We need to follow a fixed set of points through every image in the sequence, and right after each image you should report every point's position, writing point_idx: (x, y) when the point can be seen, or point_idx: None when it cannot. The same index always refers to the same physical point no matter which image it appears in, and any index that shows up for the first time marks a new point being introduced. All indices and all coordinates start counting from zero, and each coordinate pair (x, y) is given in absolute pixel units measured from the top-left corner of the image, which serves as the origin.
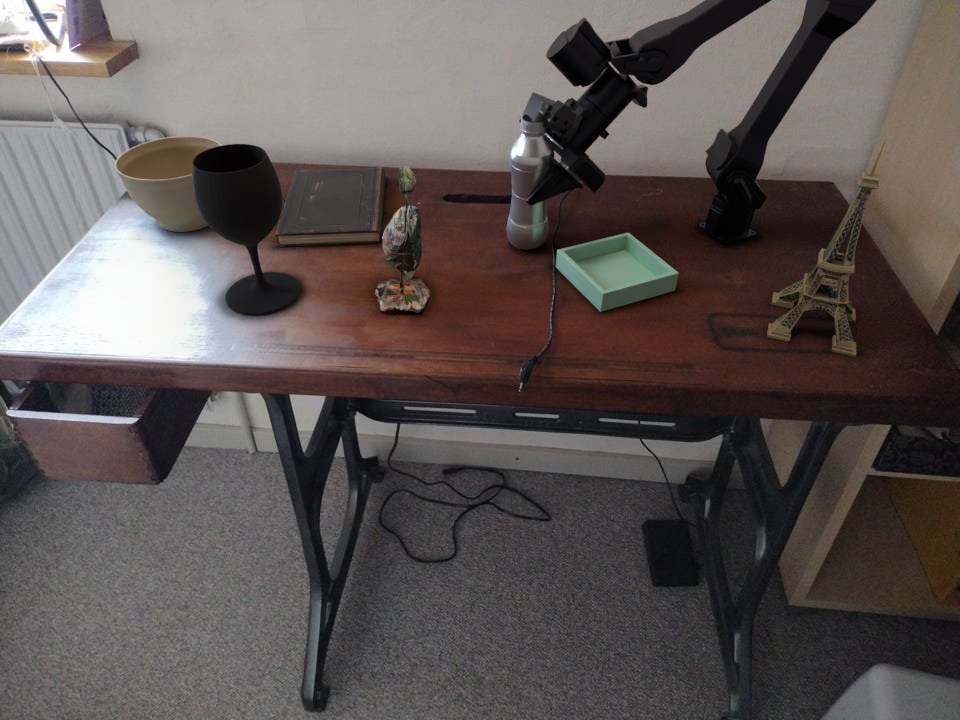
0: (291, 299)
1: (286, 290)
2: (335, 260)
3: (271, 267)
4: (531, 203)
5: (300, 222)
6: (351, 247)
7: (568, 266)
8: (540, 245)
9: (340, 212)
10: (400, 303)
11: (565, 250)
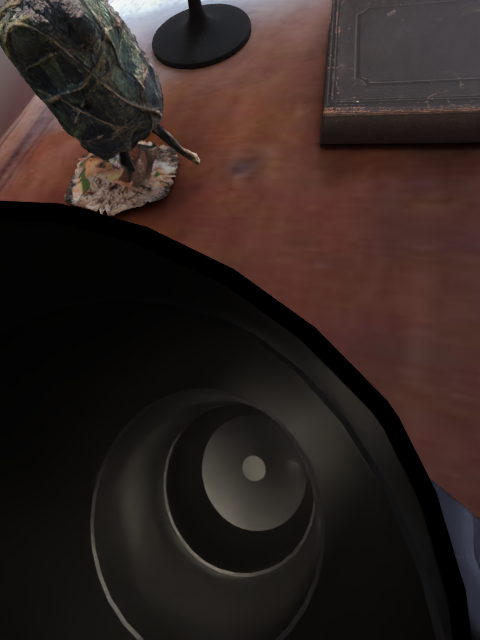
0: (168, 58)
1: (189, 49)
2: (271, 94)
3: (269, 32)
4: None
5: (374, 13)
6: (312, 109)
7: None
8: (207, 505)
9: (415, 56)
10: (82, 166)
11: None
